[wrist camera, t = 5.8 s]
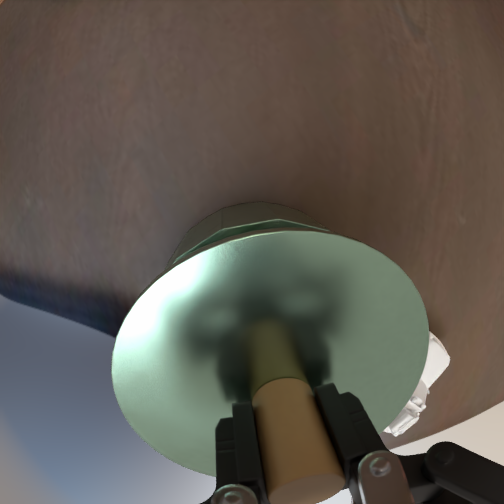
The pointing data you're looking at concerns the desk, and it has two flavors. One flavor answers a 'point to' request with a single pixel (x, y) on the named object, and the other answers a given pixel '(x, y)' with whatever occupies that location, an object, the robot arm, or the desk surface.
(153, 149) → the desk surface
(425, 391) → the toy car
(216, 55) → the desk surface
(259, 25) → the desk surface
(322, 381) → the pot lid
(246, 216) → the pot
